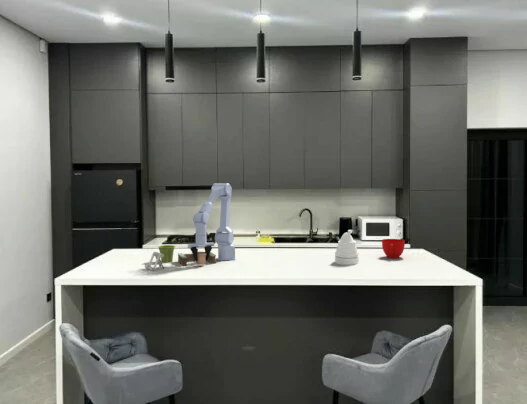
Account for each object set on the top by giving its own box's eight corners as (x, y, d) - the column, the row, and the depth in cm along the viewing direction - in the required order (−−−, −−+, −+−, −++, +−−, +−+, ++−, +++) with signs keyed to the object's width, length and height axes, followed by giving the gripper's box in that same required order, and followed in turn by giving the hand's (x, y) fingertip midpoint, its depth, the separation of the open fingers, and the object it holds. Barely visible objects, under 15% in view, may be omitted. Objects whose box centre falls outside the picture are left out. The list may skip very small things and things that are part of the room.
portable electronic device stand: (144, 268, 235) (144, 252, 235) (158, 266, 240) (158, 251, 239) (151, 271, 228) (151, 254, 228) (165, 269, 233) (165, 253, 233)
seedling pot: (203, 262, 246) (203, 251, 245) (207, 264, 241) (208, 253, 240) (193, 262, 243) (194, 251, 242) (197, 265, 238) (198, 253, 237)
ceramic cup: (379, 259, 259) (379, 241, 259) (383, 254, 275) (383, 238, 274) (402, 260, 254) (403, 243, 254) (405, 256, 270) (405, 239, 270)
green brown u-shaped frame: (209, 259, 262) (209, 251, 262) (215, 263, 249) (215, 255, 249) (177, 261, 255) (177, 253, 255) (182, 265, 242) (182, 257, 242)
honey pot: (360, 261, 253) (361, 229, 252) (355, 265, 241) (355, 231, 241) (338, 259, 258) (338, 228, 258) (332, 263, 247) (332, 230, 246)
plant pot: (171, 263, 249) (171, 247, 249) (155, 262, 251) (155, 247, 251) (177, 260, 259) (177, 245, 258) (162, 259, 261) (162, 245, 260)
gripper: (210, 233, 248) (210, 258, 248) (185, 235, 240) (185, 260, 241) (215, 234, 242) (216, 260, 242) (190, 236, 234) (190, 262, 235)
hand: (201, 260), depth 241 cm, fingers closed on seedling pot, 6 cm apart
